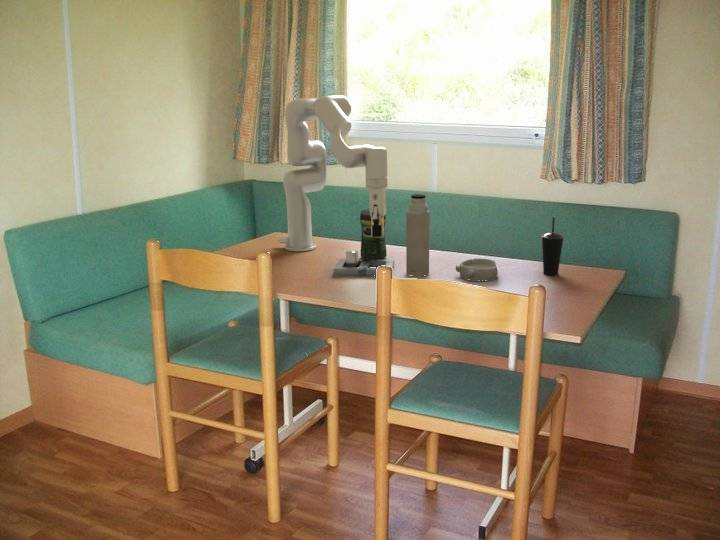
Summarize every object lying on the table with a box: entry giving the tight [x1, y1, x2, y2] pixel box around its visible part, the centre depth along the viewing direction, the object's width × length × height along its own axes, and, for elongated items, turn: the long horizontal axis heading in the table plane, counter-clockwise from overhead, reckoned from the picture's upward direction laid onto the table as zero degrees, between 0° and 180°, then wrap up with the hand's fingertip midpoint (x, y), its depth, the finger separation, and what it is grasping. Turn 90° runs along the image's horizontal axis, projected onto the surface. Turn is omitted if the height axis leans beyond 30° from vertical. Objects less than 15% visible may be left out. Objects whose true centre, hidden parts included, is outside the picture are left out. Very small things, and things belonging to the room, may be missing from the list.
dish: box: [455, 258, 499, 282], centre depth 266 cm, size 14×14×5 cm
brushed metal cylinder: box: [345, 249, 359, 268], centre depth 275 cm, size 4×4×7 cm
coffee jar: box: [359, 208, 387, 260], centre depth 291 cm, size 10×8×19 cm
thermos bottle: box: [405, 193, 431, 277], centre depth 267 cm, size 8×8×28 cm
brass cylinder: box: [371, 216, 384, 238], centre depth 270 cm, size 4×4×7 cm
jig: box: [333, 258, 395, 277], centre depth 275 cm, size 20×14×2 cm
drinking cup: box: [540, 217, 565, 277], centre depth 265 cm, size 8×8×20 cm
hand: (377, 234), depth 271 cm, fingers closed on brass cylinder, 4 cm apart
